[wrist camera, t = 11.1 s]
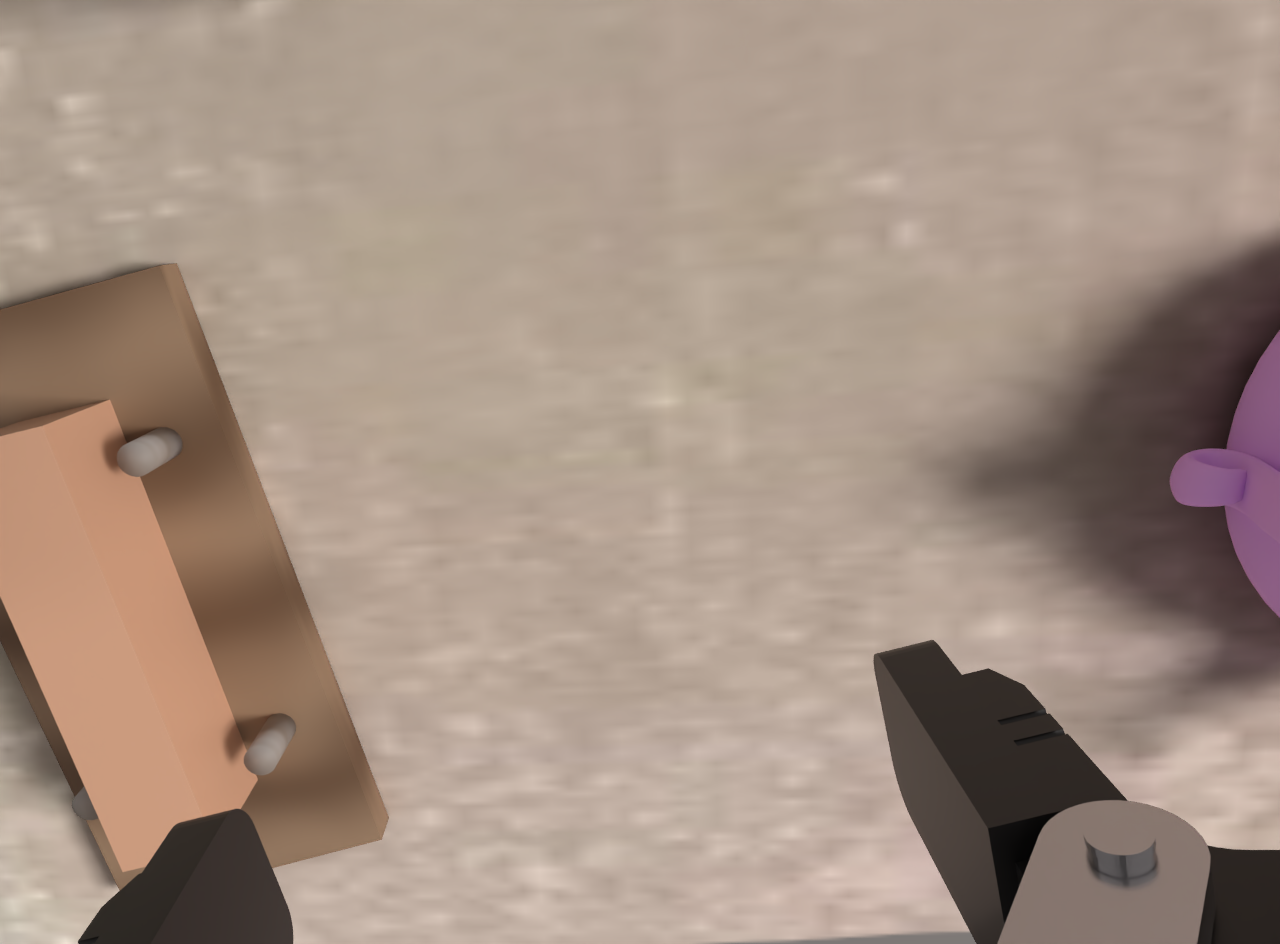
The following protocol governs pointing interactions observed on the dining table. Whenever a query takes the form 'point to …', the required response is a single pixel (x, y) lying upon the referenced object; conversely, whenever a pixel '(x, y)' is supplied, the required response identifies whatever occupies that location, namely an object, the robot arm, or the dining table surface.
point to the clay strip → (112, 633)
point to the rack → (199, 550)
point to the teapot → (1245, 477)
